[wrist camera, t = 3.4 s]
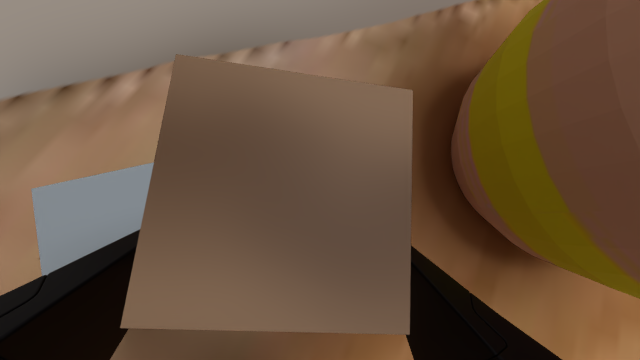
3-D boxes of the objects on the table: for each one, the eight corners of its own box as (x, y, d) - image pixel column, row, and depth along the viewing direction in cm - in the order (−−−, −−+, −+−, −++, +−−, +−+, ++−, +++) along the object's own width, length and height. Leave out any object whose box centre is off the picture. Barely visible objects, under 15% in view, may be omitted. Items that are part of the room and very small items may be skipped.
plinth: (200, 264, 18) (183, 273, 15) (88, 296, 17) (46, 313, 14) (180, 169, 19) (161, 160, 16) (73, 193, 18) (31, 188, 15)
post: (321, 247, 20) (409, 335, 5) (249, 242, 19) (120, 328, 4) (326, 179, 21) (412, 90, 6) (258, 172, 20) (176, 54, 5)
